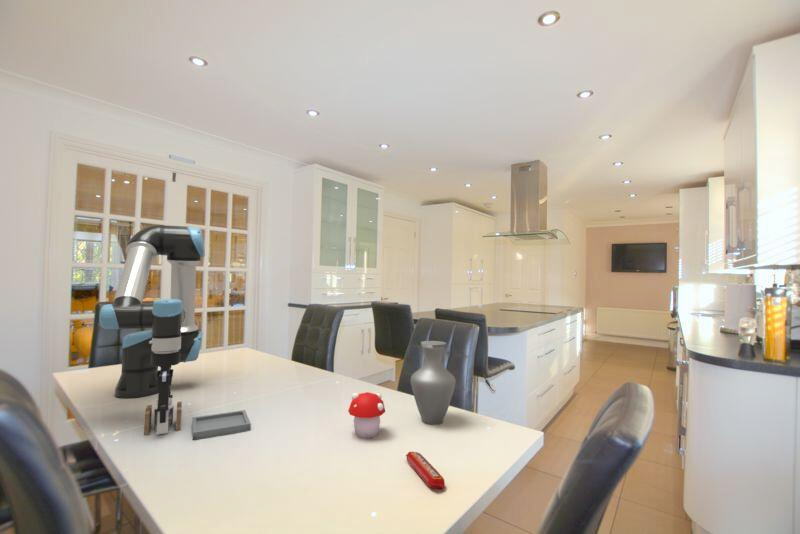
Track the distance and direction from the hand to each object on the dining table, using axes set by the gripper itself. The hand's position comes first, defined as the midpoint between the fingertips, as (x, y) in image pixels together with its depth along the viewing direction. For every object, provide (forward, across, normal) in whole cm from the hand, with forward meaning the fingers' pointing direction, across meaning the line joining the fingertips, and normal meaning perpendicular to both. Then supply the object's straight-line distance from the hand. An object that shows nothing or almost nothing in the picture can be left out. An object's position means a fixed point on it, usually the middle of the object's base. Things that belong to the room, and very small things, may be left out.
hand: (163, 427), depth 113 cm
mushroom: (+1, +31, +52) cm, 61 cm away
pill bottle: (0, 0, 0) cm, 0 cm away
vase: (0, +31, +75) cm, 81 cm away
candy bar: (+1, +58, +54) cm, 80 cm away
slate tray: (0, +7, +15) cm, 17 cm away
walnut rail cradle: (0, 0, 0) cm, 0 cm away
